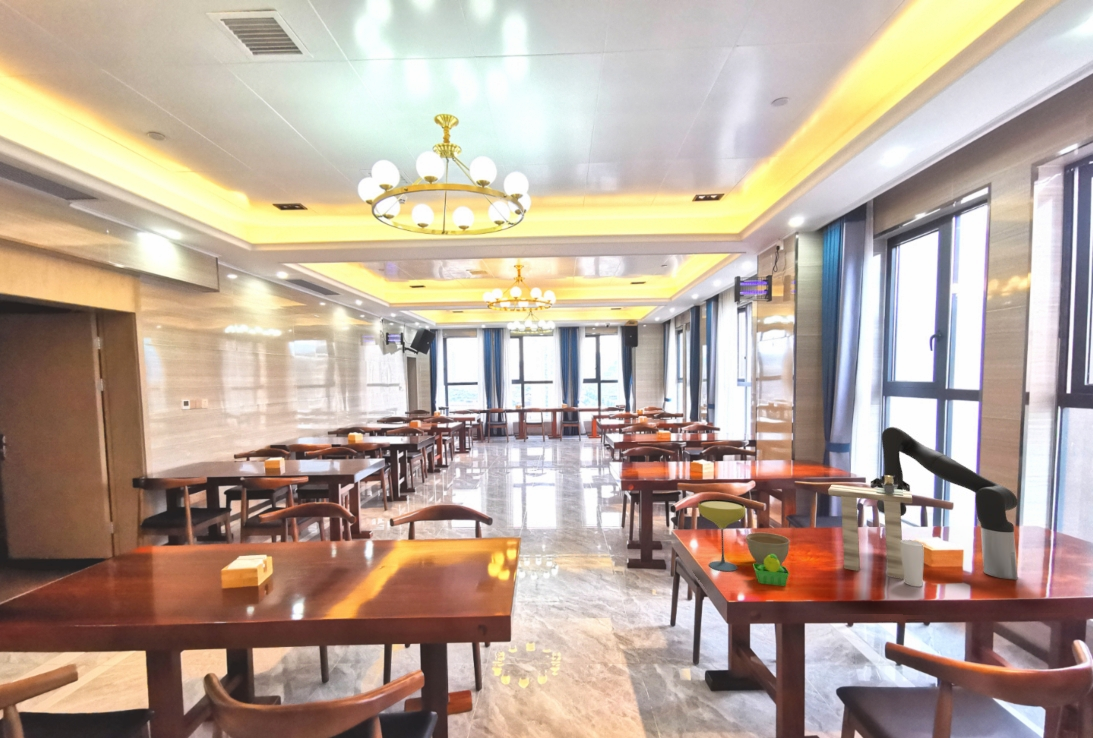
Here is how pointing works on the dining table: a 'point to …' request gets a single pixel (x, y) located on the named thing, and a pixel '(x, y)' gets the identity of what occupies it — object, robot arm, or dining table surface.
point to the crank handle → (889, 484)
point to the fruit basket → (771, 571)
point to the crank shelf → (891, 524)
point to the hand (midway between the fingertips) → (889, 477)
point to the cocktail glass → (722, 522)
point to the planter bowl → (767, 546)
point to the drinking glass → (912, 562)
